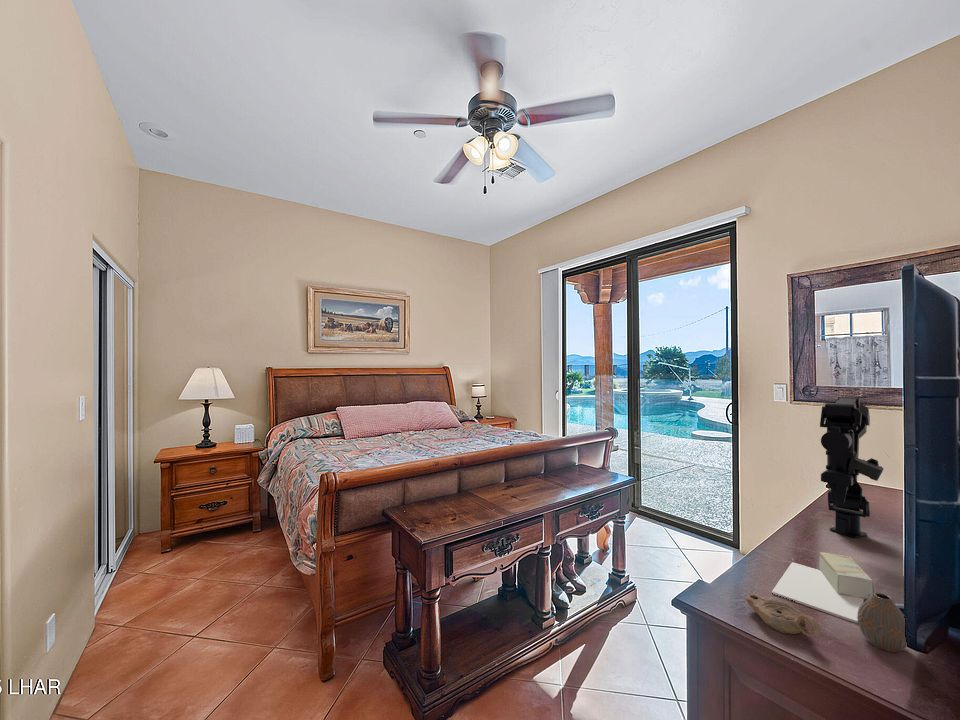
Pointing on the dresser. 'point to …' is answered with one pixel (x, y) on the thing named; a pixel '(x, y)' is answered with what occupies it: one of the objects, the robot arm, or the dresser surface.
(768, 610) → the oil lamp
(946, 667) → the dresser surface
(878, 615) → the vase
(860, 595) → the skincare box
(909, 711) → the dresser surface
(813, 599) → the notebook
